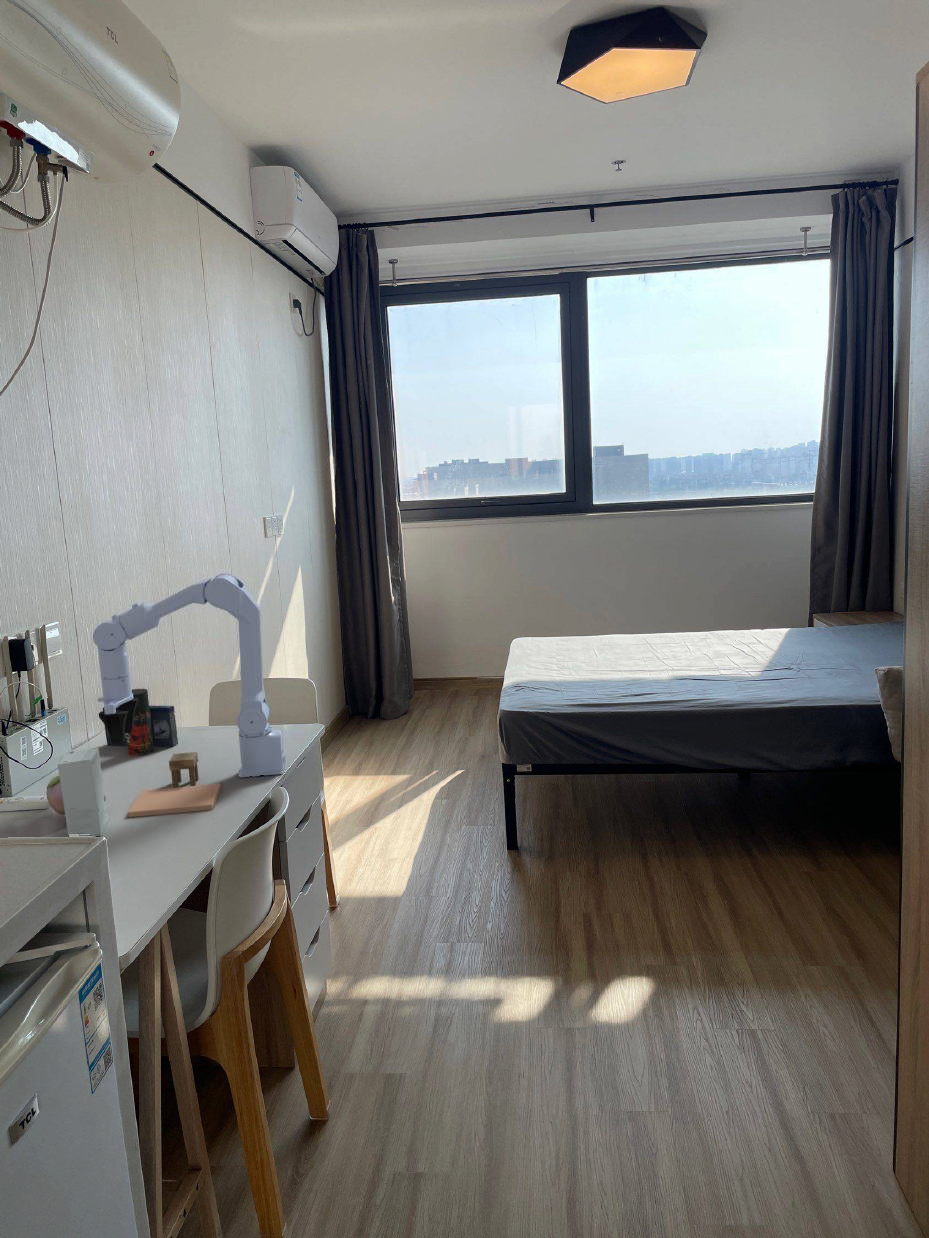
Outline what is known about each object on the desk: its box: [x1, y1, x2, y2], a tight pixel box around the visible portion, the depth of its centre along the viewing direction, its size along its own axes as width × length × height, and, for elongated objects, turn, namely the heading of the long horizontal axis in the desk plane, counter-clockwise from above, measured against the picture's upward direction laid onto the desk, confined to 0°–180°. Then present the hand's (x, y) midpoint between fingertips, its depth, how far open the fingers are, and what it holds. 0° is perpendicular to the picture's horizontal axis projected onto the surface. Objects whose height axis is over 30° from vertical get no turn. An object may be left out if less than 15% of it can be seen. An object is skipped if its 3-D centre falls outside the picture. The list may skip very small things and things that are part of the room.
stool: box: [168, 751, 200, 788], centre depth 186 cm, size 5×5×6 cm
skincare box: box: [57, 748, 110, 837], centre depth 162 cm, size 8×6×15 cm
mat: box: [127, 783, 222, 818], centre depth 176 cm, size 16×12×1 cm
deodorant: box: [126, 688, 155, 757], centre depth 209 cm, size 6×6×15 cm
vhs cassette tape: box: [102, 705, 179, 748], centre depth 215 cm, size 18×3×10 cm, turn 77°
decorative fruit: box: [45, 775, 65, 817], centre depth 170 cm, size 9×8×10 cm
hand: (122, 737), depth 187 cm, fingers open, 7 cm apart
